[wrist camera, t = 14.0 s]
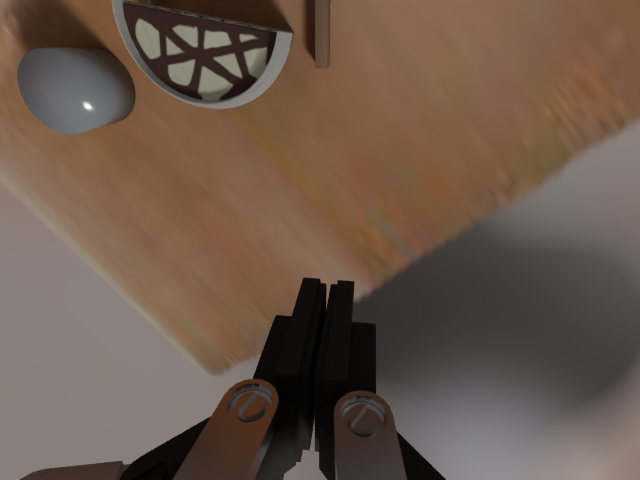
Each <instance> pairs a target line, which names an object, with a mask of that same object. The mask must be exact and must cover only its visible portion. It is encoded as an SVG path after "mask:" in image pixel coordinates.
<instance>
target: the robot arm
mask: <svg viewBox="0 0 640 480" xmlns="http://www.w3.org/2000/svg"><path fill="white" fill-rule="evenodd" d="M353 298H354V281H342V280H338V283H337V285H336V284H331V287H330V293H329V298H328V304H327V310H326V284H324V283H321V281H320V279H316V278H303V281H302V284H301V287H300V291H299V294H298V297H297V300H296V304H295V307H294V310H293V314H292V316H281V315H277V316H275V319H274V321H273V324H272V327H271V329H270V332H269V335H268V338H267V340H266V343H265V346H264V349H263V351H262V354H261V357H260V360H259V363H258V366H257V369H256V371H255V374H254V376H253V379H248V380H244V381H241V382H239V383H236V384H235V385H234V386H232V387H231V388H230V389H229V390H228V391H227V392H226V393H225V395H224V396H223V398H222V400H221V401H220V403H219V404H218V406H217V408H216V409H215V411H214V412H213V414H212V416H211V417H209V418H207V419H205V420H204V421H202V422H200V423H198V424H197V425H195V426H193V427H191V428H190V429H188V430H186V431H184V432H183V433H181V434H179V435H177V436H176V437H174V438H172V439H170V440H169V441H167V442H165V443H163V444H162V445H160V446H158V447H157V448H155V449H153V450H151V451H150V452H148V453H146V454H145V455H143V456H141V457H140V458H138V459H137V460H136V461H134V462H133V463H131V464H127V465H124V464H123V462H122V461H115V462H105V463H96V464H87V465H78V466H68V467H59V468H49V469H43V470H39V471H35V472H32V473H30V474H29V475H27V476H25V477H23V478H21V479H20V480H283V478H284V474H285V473H286V472H287V471H289V470H290V469H291V468H293V467H294V466H295V465H296V462H301V456H302V450H309V449H310V445H311V438H312V432H313V426H314V419H315V451H318V452H319V468H320V470H321V471H322V473H323V474H324V476H325V477H326V478H327V480H446V479H445V478H444V477H443V476H442V475H441V474H440V473H439V472H438V471H437V470H436V469H435V468H434V467H432V465H431V464H430V463H429V462H428V461H426V459H424V458H423V457H422V456H421V455H420V454H419V453H418V452H417V451H416V450H415V449H414V448H413V447H412V446H411V445H410V444H409V443H408V442H407V441H406V440H405V439H404V438H403V437H402V436H401V435H400V434H399V433H398V432H397V431H396V427H395V422H394V418H393V414H392V411H391V409H390V407H389V405H388V404H387V403H386V401H385V400H384V399H382V398H381V397H380V396H378V395H377V394H376V325H375V324H371V323H358V322H352V315H353Z"/></svg>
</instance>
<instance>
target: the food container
mask: <svg viewBox="0 0 640 480" xmlns="http://www.w3.org/2000/svg"><path fill="white" fill-rule="evenodd" d="M112 6H113V12H114V16H115V20H116V23H117V27H118V30H119V32H120V35H121V37H122V39H123V42H124V44H125V46H126V48H127V49H128V51H129V53H130V55H131V57H132V58H133V59H134V61H135V62H136V64H137V65H138V66H139V68H140V69H141V70H142V71H143V72H144V73H145V74H146V75H147V77H148V78H149V79H150V80H152V81H153V82H154V83H155V84H156V85H157V86H159V87H160V88H161V89H162V90H164V91H165V92H167V93H168V94H170V95H171V96H173V97H175V98H177V99H179V100H181V101H183V102H185V103H188V104H192V105H195V106H199V107H205V108H214V109H226V108H233V107H237V106H241V105H243V104H246V103H248V102H250V101H252V100H254V99H255V98H257V97H258V96H260V95H261V94H262V93H263V92H264V91H265V90H267V89H268V88H269V87H270V86H271V85H272V83H273V82H274V80H275V79H276V78H277V76H278V75H279V73H280V71H281V69H282V67H283V65H284V64H285V62H286V59H287V56H288V53H289V50H290V47H291V44H292V40H293V34H294V32H290V31H285V30H280V29H275V28H270V27H265V26H260V25H255V24H250V23H245V22H240V21H235V20H230V19H225V18H220V17H215V16H210V15H204V14H199V13H194V12H189V11H183V10H177V9H171V8H166V7H160V6H154V5H148V4H142V3H136V2H131V1H125V0H112Z"/></svg>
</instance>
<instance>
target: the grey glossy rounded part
mask: <svg viewBox="0 0 640 480" xmlns="http://www.w3.org/2000/svg"><path fill="white" fill-rule="evenodd" d="M17 77H18V85H19V89H20V92H21V95H22V97H23V99H24V101H25V103H26V105H27V106H28V108H29V109H30V111H31V112H32V113H33V114H34V115H35V117H36V118H37V119H38V120H39V121H41V122H42V123H43V124H44V125H46V126H47V127H49V128H50V129H52V130H54V131H56V132H59V133H63V134H69V135H74V134H79V133H82V132H86V131H89V130H92V129H96V128H99V127H102V126H105V125H109V124H112V123H115V122H118V121H121V120H123V119H125V118H126V117H127V116H129V114H130V113H131V112H132V110H133V107H134V104H135V87H134V84H133V81H132V78H131V76H130V74H129V72H128V70H127V69H126V67H125V66H124V65H123V63H122V62H121V61H120V60H119V59H118V58H116V57H115V56H114V55H113V54H111V53H110V52H108V51H106V50H103V49H101V48H96V47H62V48H36V49H33V50H31V51H29V52H28V53H26V54H25V55H24V56H23V58H22V59H21V61H20V64H19V67H18V76H17Z"/></svg>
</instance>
